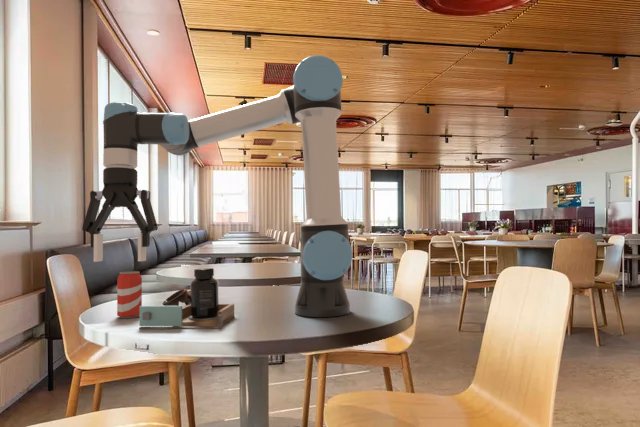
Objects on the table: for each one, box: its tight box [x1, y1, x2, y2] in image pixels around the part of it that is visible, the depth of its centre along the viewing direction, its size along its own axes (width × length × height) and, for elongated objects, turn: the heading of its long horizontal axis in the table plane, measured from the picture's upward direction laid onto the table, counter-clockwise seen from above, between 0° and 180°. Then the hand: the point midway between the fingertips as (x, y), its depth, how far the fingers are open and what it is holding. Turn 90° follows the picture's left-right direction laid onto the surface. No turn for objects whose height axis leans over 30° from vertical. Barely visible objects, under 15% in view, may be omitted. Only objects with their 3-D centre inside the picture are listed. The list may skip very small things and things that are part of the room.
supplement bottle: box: [190, 267, 220, 318], centre depth 116 cm, size 7×7×12 cm
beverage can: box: [116, 271, 143, 319], centre depth 124 cm, size 6×6×12 cm
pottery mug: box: [162, 288, 191, 306], centre depth 125 cm, size 12×10×8 cm
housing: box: [138, 303, 235, 330], centre depth 114 cm, size 20×15×4 cm
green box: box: [139, 305, 183, 327], centre depth 107 cm, size 10×2×5 cm, turn 87°
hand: (120, 261), depth 109 cm, fingers open, 10 cm apart
